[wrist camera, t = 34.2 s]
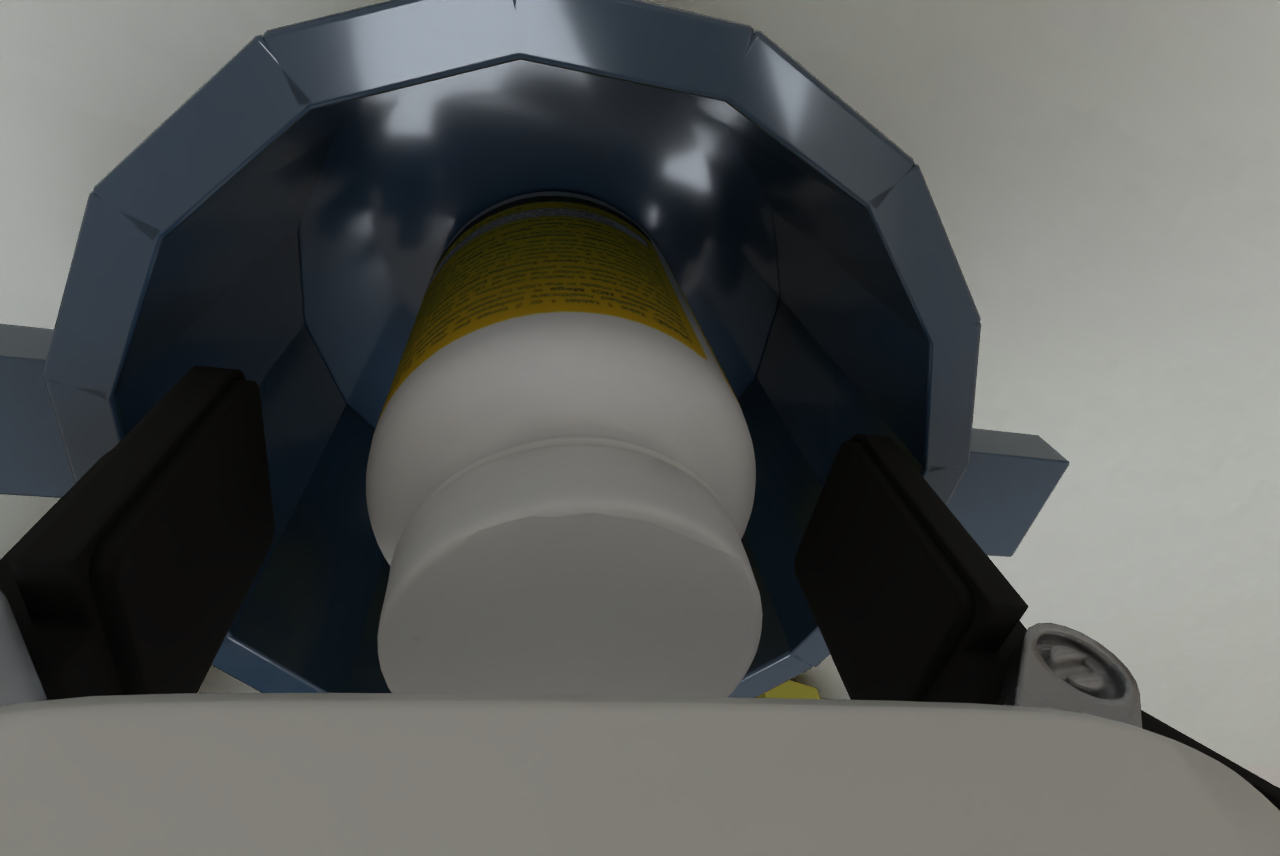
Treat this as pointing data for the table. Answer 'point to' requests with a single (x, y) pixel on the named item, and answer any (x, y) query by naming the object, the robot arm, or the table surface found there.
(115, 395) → the pot
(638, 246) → the pill bottle
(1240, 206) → the table surface
